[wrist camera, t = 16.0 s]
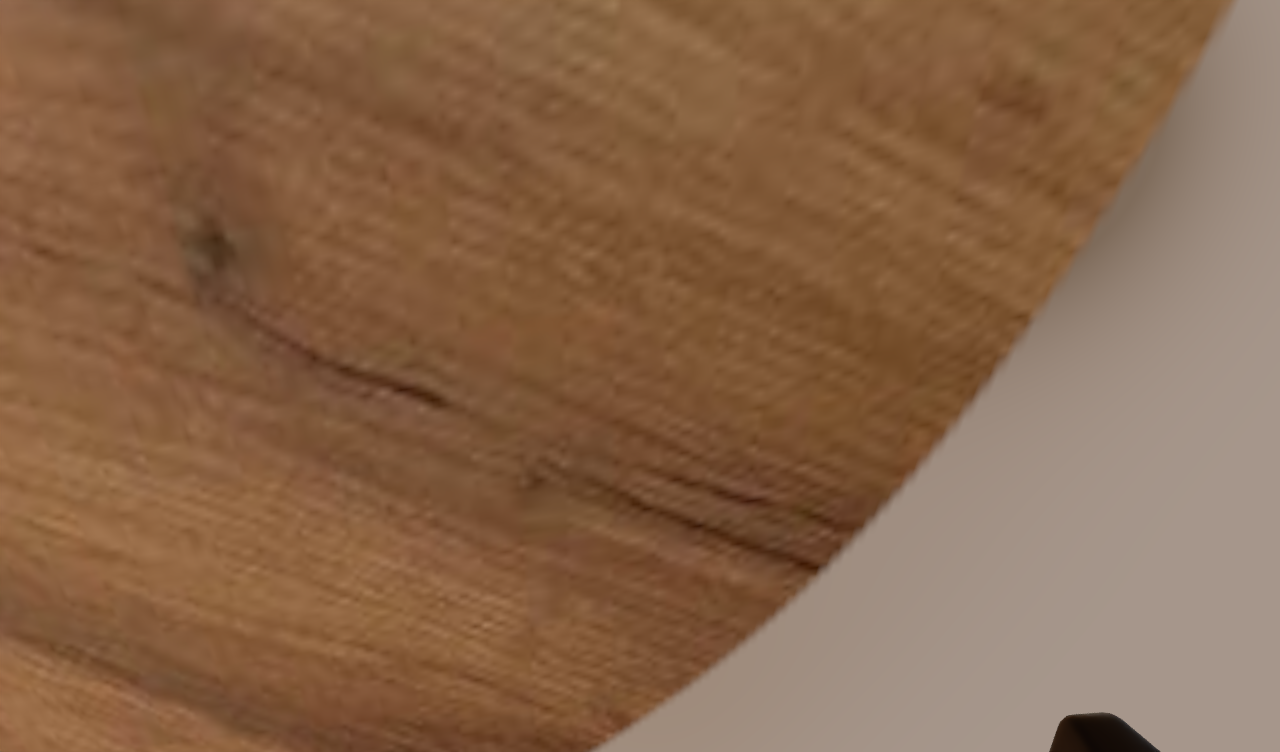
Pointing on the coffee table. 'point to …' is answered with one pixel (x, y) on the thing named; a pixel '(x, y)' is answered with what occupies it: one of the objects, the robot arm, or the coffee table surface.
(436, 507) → the coffee table surface
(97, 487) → the coffee table surface
